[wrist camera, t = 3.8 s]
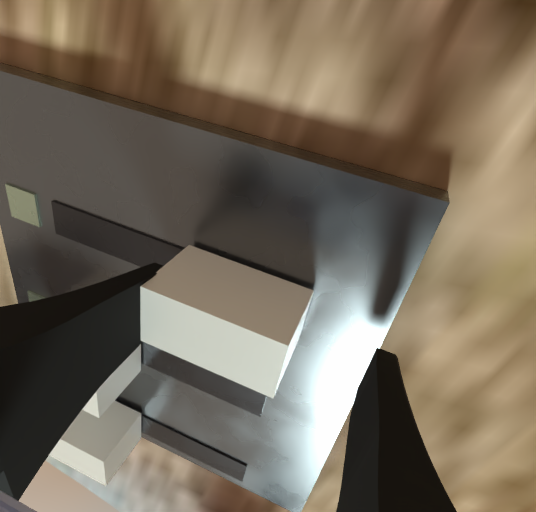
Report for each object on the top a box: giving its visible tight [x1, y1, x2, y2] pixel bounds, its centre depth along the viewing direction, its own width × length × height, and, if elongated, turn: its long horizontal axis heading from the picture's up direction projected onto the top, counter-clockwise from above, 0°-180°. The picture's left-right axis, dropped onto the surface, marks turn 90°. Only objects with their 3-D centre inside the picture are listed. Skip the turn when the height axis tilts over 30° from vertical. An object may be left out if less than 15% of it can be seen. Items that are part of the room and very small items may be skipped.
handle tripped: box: [140, 245, 314, 398], centre depth 13 cm, size 5×2×3 cm, turn 79°
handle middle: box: [82, 344, 141, 418], centre depth 18 cm, size 5×2×3 cm, turn 79°
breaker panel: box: [0, 63, 449, 512], centre depth 18 cm, size 18×19×1 cm
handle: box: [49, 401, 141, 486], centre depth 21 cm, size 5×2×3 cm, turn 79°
